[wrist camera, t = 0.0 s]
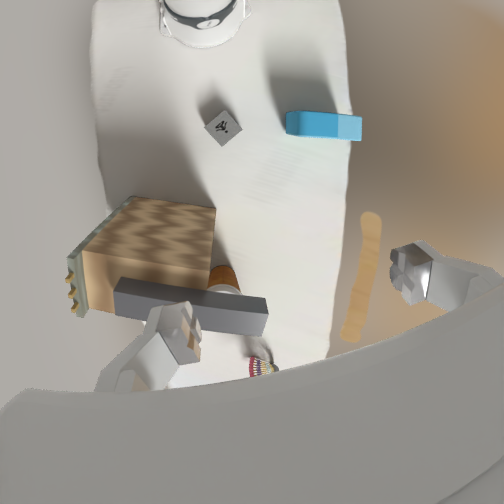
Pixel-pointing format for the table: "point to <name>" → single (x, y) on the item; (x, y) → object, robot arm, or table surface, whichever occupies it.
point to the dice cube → (223, 128)
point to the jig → (142, 251)
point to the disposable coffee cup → (223, 281)
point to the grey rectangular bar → (193, 306)
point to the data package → (324, 125)
